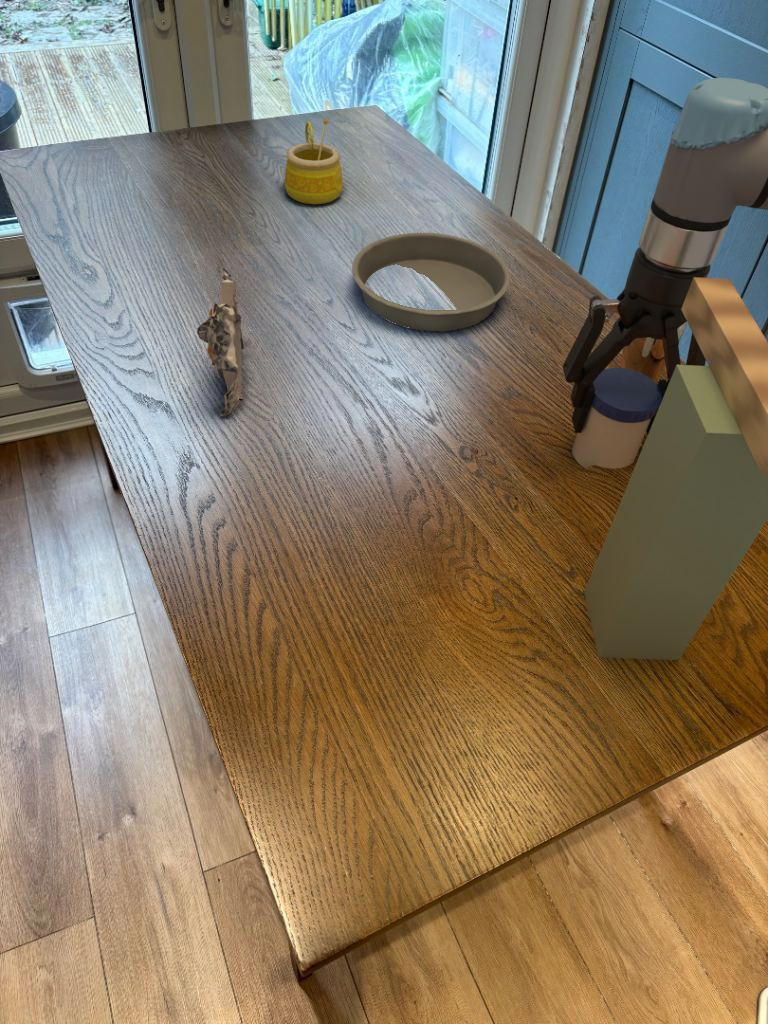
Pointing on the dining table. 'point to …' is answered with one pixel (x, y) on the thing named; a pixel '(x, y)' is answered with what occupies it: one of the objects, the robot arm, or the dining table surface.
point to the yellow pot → (313, 171)
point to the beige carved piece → (225, 341)
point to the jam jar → (608, 441)
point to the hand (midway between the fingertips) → (612, 427)
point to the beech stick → (733, 356)
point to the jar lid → (626, 395)
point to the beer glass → (647, 355)
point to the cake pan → (436, 278)
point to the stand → (677, 525)
